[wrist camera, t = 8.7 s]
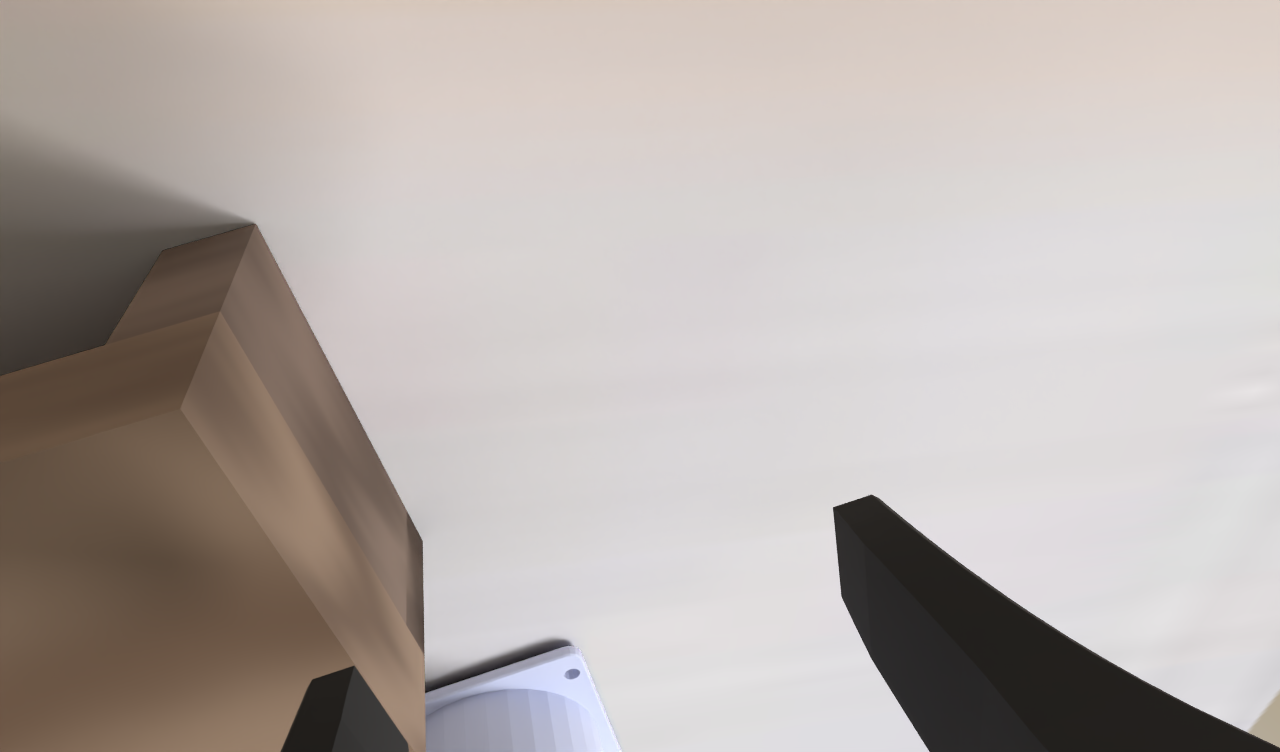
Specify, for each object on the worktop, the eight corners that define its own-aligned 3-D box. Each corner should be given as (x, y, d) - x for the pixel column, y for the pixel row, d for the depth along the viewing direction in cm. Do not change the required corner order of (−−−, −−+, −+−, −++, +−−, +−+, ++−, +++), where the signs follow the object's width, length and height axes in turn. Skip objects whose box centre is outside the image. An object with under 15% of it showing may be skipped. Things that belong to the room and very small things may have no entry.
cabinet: (422, 540, 23) (426, 768, 17) (-42, 689, 22) (-200, 982, 16) (255, 223, 17) (180, 408, 12) (-381, 406, 16) (-801, 704, 11)
